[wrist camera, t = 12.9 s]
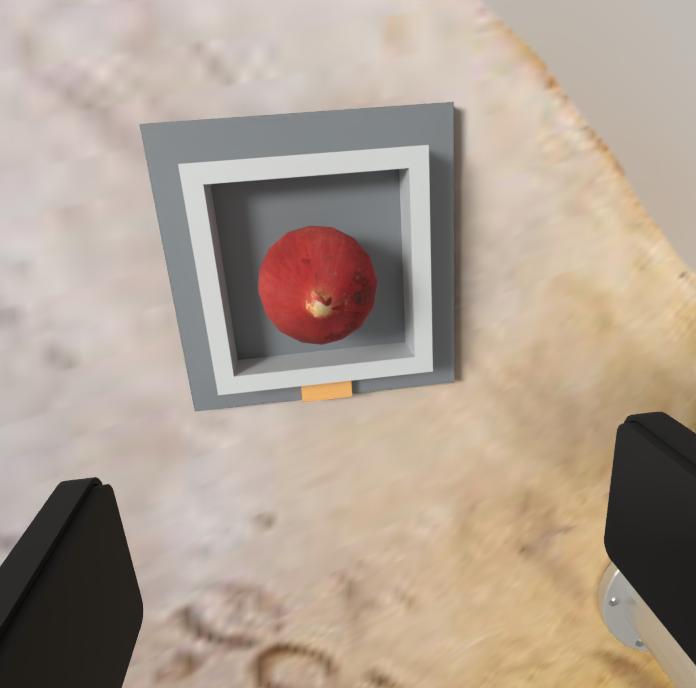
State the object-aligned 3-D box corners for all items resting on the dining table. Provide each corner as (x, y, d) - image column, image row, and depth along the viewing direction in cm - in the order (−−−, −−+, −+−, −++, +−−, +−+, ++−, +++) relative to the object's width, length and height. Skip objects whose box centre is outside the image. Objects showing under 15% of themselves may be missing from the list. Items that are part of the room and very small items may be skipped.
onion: (372, 224, 29) (401, 247, 22) (358, 323, 31) (381, 377, 23) (265, 212, 28) (257, 232, 21) (258, 315, 30) (249, 367, 23)
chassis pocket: (447, 103, 28) (469, 96, 25) (449, 375, 34) (467, 399, 30) (144, 125, 27) (124, 120, 24) (197, 404, 33) (187, 431, 29)
